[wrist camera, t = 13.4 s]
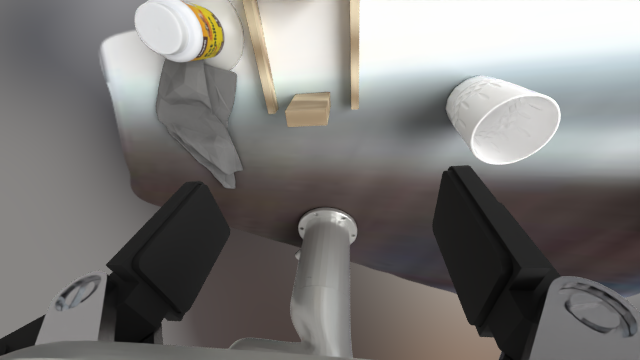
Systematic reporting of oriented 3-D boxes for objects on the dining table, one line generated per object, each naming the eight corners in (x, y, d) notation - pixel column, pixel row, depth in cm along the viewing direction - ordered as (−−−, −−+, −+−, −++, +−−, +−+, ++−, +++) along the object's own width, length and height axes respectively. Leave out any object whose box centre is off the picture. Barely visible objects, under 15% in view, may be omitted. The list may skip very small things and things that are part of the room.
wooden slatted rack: (358, 104, 33) (359, 123, 28) (272, 109, 35) (257, 128, 30) (359, -36, 25) (361, -49, 19) (244, -20, 26) (216, -27, 21)
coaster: (228, 87, 34) (226, 88, 34) (159, 42, 31) (157, 42, 31) (256, 20, 29) (255, 20, 28) (177, -43, 26) (174, -43, 25)
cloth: (132, 16, 29) (118, 17, 27) (239, 41, 30) (232, 44, 28) (175, 174, 45) (168, 182, 44) (243, 189, 46) (239, 197, 44)
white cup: (428, 108, 33) (454, 140, 25) (479, 56, 28) (529, 76, 21) (466, 137, 35) (500, 176, 27) (518, 93, 30) (578, 123, 23)
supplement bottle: (225, 63, 31) (191, 72, 22) (181, 50, 30) (128, 55, 21) (228, 14, 28) (190, 2, 19) (179, -2, 27) (117, -21, 19)
